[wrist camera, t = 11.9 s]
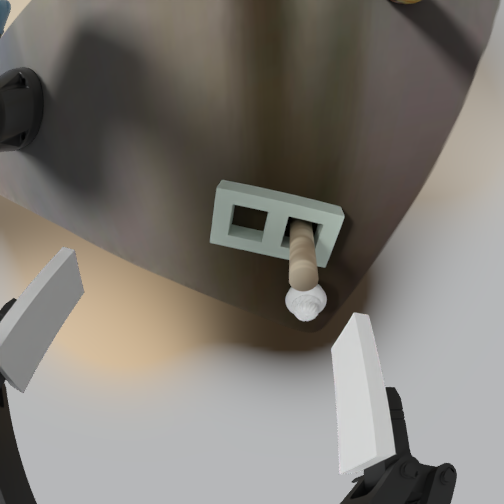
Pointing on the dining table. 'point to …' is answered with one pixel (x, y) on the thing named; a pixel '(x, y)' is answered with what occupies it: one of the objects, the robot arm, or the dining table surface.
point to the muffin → (306, 302)
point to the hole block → (272, 220)
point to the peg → (302, 256)
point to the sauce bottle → (405, 1)
